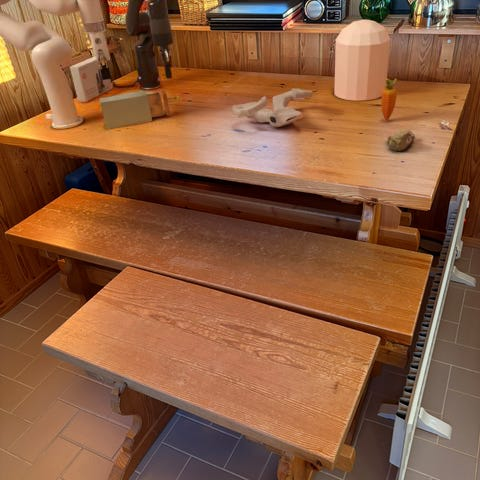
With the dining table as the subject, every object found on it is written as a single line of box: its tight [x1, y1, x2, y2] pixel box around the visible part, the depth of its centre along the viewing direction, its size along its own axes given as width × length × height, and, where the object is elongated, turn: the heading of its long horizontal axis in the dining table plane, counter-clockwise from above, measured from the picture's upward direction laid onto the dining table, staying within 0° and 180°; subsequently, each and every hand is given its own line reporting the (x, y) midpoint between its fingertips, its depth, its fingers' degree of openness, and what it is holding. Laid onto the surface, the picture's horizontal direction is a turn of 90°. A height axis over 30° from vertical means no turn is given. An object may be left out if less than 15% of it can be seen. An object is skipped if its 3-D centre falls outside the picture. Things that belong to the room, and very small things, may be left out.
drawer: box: [147, 90, 182, 118], centre depth 186 cm, size 22×5×9 cm, turn 106°
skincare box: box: [69, 56, 113, 103], centre depth 218 cm, size 21×6×16 cm, turn 158°
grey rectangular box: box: [99, 90, 153, 130], centre depth 184 cm, size 18×6×11 cm, turn 106°
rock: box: [387, 129, 416, 152], centre depth 146 cm, size 11×6×10 cm
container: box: [333, 19, 391, 102], centre depth 186 cm, size 21×21×28 cm
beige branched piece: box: [231, 88, 314, 128], centre depth 171 cm, size 28×26×12 cm
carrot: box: [380, 78, 398, 122], centre depth 161 cm, size 5×5×15 cm
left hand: (106, 76), depth 175 cm, fingers open, 9 cm apart
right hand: (169, 78), depth 182 cm, fingers closed
